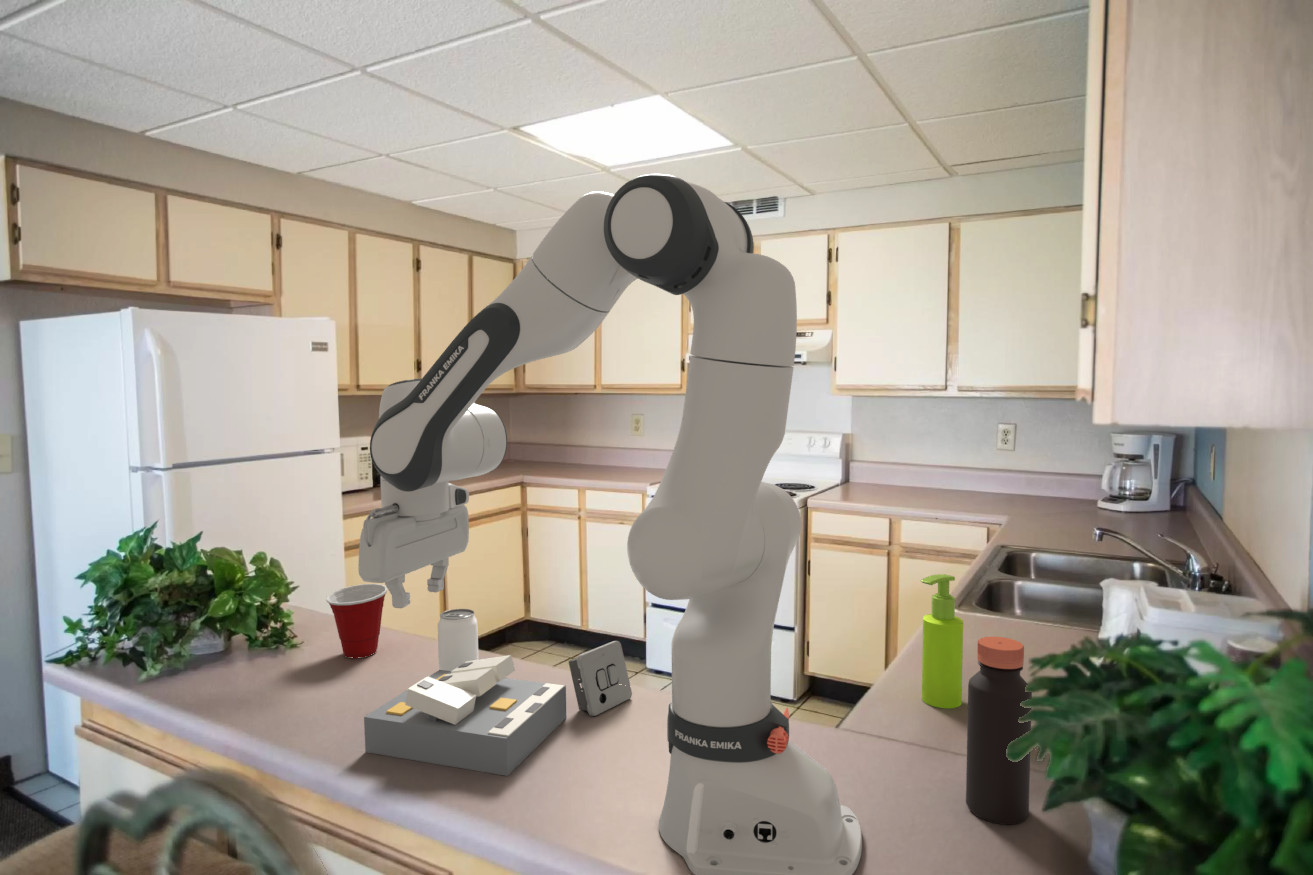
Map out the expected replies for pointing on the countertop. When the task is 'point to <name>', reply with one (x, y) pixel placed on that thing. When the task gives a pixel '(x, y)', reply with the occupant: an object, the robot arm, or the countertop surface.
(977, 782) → the bottle
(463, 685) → the rocker
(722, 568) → the robot arm
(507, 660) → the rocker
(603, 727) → the countertop surface
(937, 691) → the soap dispenser
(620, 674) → the electrical switch
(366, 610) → the plastic cup
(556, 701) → the switch unit
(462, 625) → the can
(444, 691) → the rocker
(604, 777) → the countertop surface
